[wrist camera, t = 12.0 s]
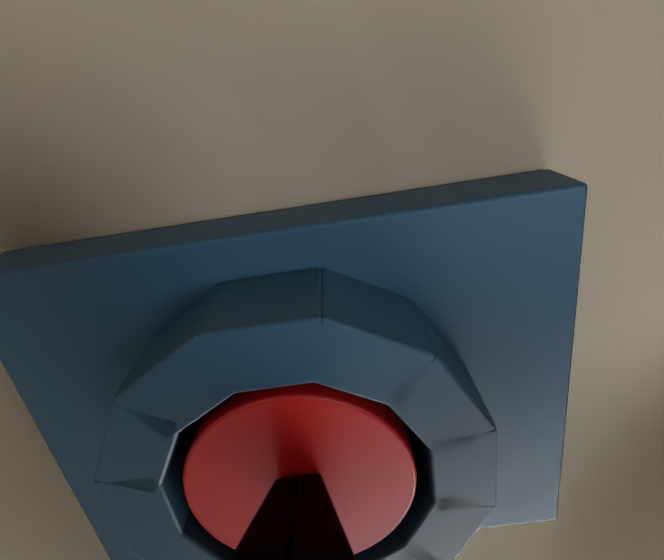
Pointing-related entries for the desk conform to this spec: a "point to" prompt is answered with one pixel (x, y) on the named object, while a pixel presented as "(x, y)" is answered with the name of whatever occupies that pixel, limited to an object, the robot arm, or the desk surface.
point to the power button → (301, 459)
